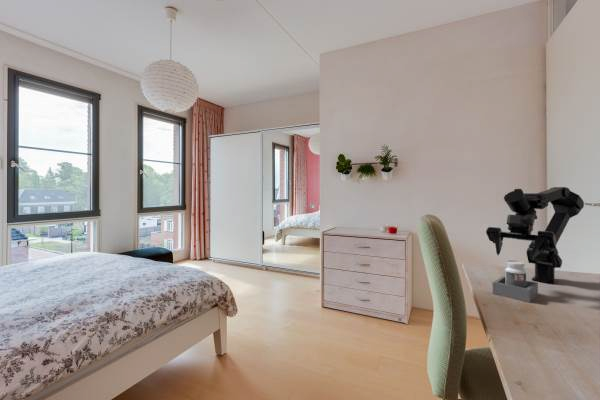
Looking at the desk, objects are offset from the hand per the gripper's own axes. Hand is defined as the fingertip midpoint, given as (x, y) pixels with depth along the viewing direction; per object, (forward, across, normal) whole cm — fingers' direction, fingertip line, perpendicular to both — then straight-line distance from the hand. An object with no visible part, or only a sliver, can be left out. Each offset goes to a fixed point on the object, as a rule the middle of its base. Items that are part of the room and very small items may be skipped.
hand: (513, 256), depth 94 cm
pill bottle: (+8, 0, +10) cm, 12 cm away
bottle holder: (+8, 0, +10) cm, 13 cm away
